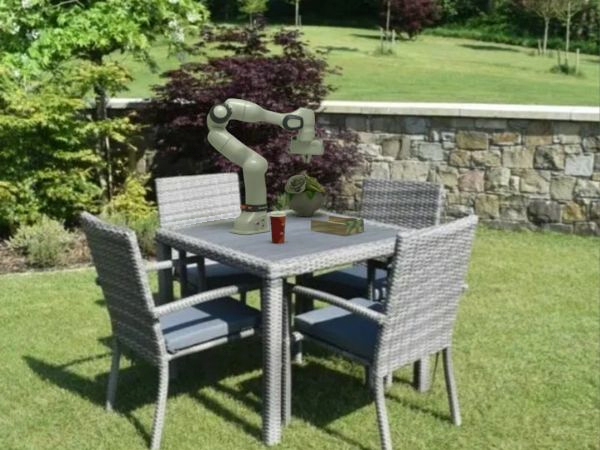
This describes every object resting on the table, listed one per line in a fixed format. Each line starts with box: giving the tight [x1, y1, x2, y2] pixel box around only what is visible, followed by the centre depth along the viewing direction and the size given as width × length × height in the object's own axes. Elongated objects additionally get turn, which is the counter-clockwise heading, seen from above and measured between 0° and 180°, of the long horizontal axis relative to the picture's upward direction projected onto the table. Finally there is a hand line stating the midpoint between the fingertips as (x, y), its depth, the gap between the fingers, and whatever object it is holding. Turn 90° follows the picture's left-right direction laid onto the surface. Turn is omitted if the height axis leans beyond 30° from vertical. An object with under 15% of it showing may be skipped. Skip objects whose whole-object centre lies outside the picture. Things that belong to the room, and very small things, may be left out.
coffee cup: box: [269, 210, 287, 245], centre depth 373 cm, size 8×8×15 cm
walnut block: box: [345, 217, 358, 222], centre depth 397 cm, size 4×4×4 cm
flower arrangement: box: [284, 174, 326, 217], centre depth 447 cm, size 25×25×24 cm
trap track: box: [310, 215, 365, 237], centre depth 401 cm, size 16×23×7 cm
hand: (306, 162), depth 416 cm, fingers closed
